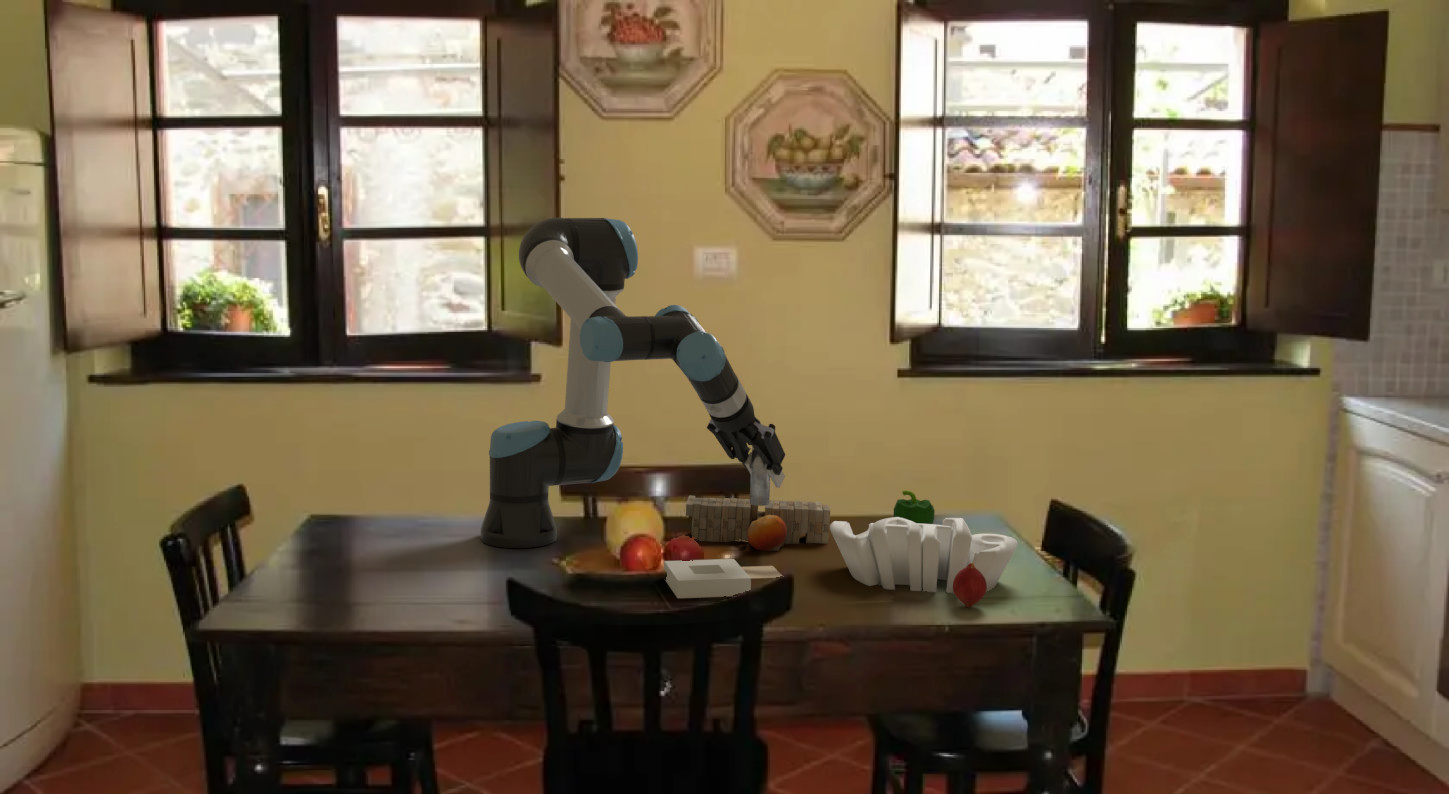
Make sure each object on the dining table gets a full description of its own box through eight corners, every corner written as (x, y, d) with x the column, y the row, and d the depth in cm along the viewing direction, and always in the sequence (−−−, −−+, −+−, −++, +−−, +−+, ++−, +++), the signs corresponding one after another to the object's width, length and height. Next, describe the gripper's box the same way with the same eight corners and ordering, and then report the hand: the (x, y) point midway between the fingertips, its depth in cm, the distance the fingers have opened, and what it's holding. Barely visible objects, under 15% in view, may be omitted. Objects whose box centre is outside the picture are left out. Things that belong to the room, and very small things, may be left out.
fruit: (792, 549, 272) (773, 513, 272) (758, 566, 274) (738, 531, 273) (798, 539, 280) (779, 504, 279) (765, 556, 281) (746, 522, 281)
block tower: (826, 541, 289) (686, 532, 290) (829, 502, 288) (688, 492, 288) (827, 551, 281) (683, 541, 282) (830, 510, 280) (686, 500, 281)
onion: (948, 602, 244) (950, 557, 243) (980, 602, 244) (982, 558, 243) (956, 612, 238) (958, 566, 237) (989, 612, 239) (991, 566, 238)
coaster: (731, 569, 261) (731, 567, 261) (772, 567, 263) (772, 565, 263) (741, 580, 253) (741, 578, 253) (783, 579, 255) (783, 577, 255)
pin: (747, 501, 258) (750, 432, 256) (766, 501, 258) (769, 432, 257) (752, 505, 254) (755, 436, 252) (771, 505, 255) (774, 435, 253)
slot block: (663, 579, 253) (664, 561, 252) (733, 577, 256) (733, 558, 255) (677, 600, 240) (678, 580, 240) (750, 597, 243) (750, 578, 243)
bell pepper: (939, 537, 291) (942, 490, 289) (923, 545, 284) (925, 497, 282) (903, 531, 295) (905, 485, 294) (886, 538, 288) (888, 491, 287)
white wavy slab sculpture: (821, 585, 253) (823, 528, 251) (830, 562, 269) (832, 509, 267) (1017, 600, 247) (1021, 542, 245) (1014, 575, 263) (1017, 521, 261)
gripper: (678, 414, 245) (724, 490, 261) (759, 425, 236) (802, 503, 253) (696, 381, 249) (740, 458, 265) (776, 391, 240) (817, 470, 256)
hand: (770, 480), depth 259 cm, fingers closed on pin, 3 cm apart
